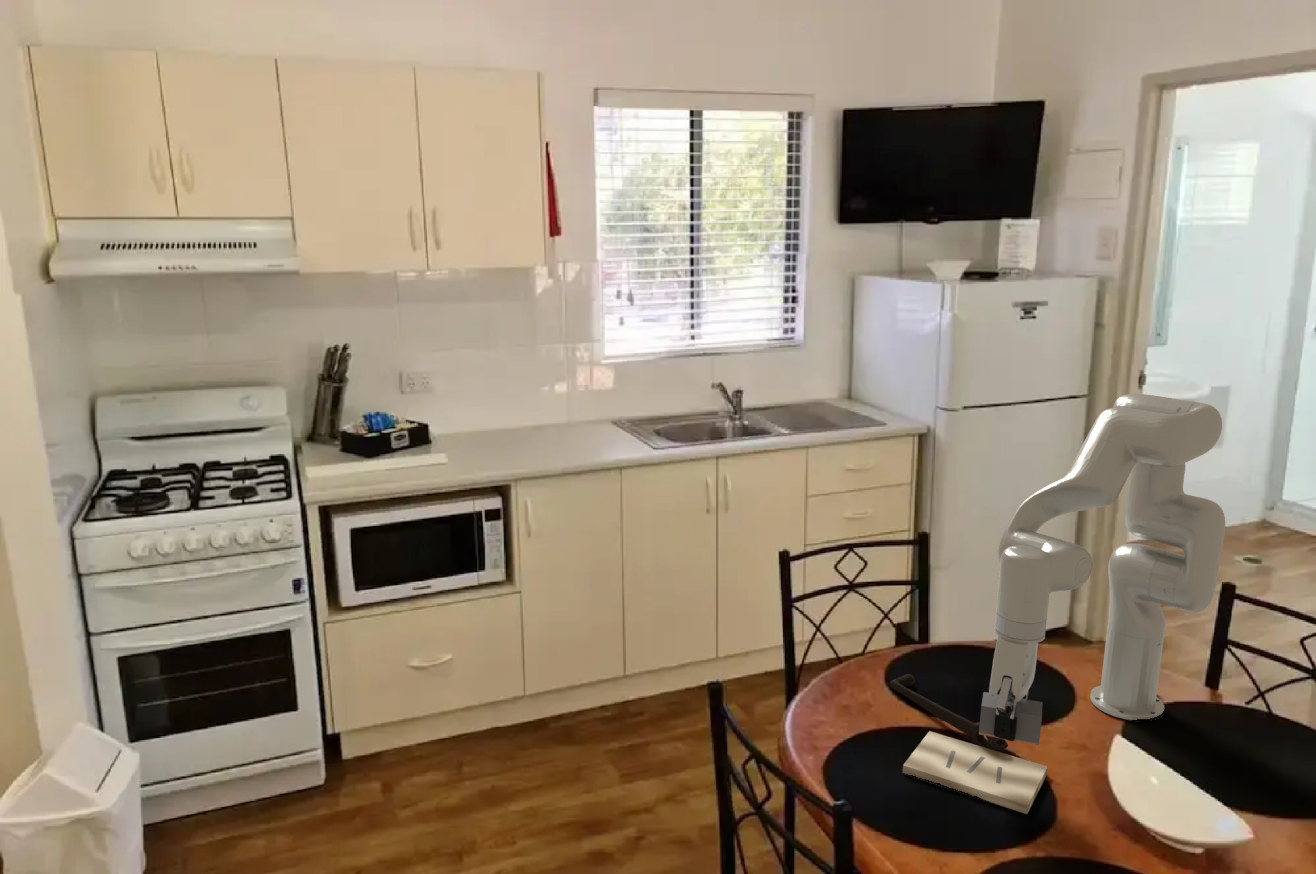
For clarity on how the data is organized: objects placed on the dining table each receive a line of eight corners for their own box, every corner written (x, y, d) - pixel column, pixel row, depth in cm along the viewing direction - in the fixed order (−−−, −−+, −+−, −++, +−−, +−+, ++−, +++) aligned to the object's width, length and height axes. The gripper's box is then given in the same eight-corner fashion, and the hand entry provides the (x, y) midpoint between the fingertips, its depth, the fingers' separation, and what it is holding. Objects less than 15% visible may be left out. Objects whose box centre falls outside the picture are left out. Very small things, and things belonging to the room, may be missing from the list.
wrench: (910, 690, 193) (1021, 755, 166) (888, 696, 191) (998, 763, 164) (909, 665, 192) (1021, 727, 165) (887, 672, 190) (997, 735, 163)
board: (928, 738, 172) (929, 731, 172) (1046, 774, 161) (1047, 766, 161) (902, 773, 162) (903, 765, 161) (1027, 814, 151) (1027, 805, 151)
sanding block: (981, 719, 160) (983, 691, 159) (1039, 730, 157) (1042, 702, 156) (978, 734, 156) (981, 705, 155) (1038, 745, 153) (1041, 716, 152)
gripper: (1010, 602, 161) (1000, 701, 165) (979, 638, 147) (970, 746, 152) (1057, 612, 157) (1046, 714, 161) (1031, 650, 143) (1019, 761, 147)
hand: (1009, 728), depth 156 cm, fingers closed on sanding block, 5 cm apart
